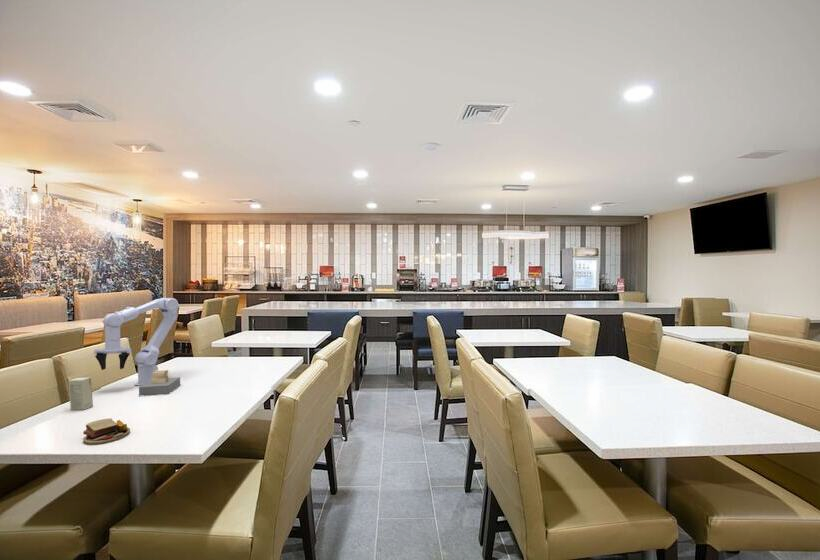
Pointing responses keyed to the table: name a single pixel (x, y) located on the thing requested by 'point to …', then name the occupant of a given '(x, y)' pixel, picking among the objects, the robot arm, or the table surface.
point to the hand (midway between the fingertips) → (112, 369)
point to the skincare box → (80, 393)
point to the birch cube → (159, 376)
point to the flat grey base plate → (159, 387)
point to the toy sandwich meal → (104, 431)
